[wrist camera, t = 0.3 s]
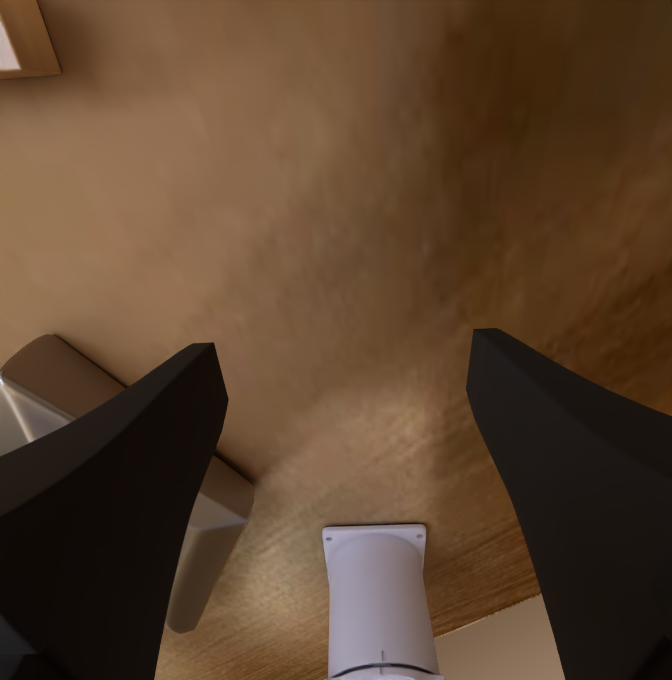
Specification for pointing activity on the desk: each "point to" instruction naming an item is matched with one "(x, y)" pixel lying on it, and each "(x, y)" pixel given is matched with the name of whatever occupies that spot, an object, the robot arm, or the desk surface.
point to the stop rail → (24, 41)
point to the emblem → (84, 396)
